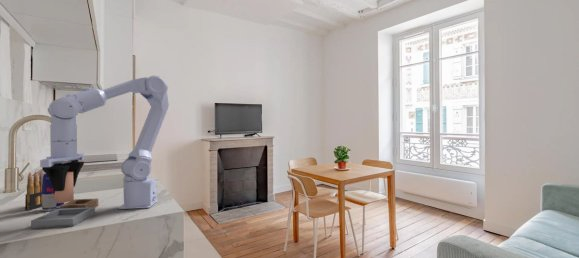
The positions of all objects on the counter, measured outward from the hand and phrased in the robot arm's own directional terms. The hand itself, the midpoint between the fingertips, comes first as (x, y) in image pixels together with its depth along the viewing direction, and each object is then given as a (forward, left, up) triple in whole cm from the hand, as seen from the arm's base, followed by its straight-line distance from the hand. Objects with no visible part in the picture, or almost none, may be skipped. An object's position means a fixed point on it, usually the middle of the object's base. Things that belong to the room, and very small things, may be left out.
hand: (64, 188), depth 75 cm
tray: (0, 0, -9) cm, 9 cm away
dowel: (0, 0, -3) cm, 3 cm away
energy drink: (+11, -12, -9) cm, 19 cm away
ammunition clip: (+17, -17, -9) cm, 26 cm away
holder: (+2, -10, -9) cm, 14 cm away
